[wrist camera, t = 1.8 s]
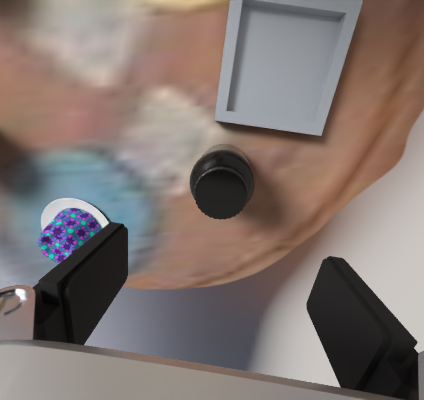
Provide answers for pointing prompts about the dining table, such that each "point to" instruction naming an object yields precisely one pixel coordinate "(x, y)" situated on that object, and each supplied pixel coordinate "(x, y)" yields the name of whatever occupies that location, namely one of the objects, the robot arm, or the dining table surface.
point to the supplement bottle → (222, 181)
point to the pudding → (68, 227)
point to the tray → (284, 62)
